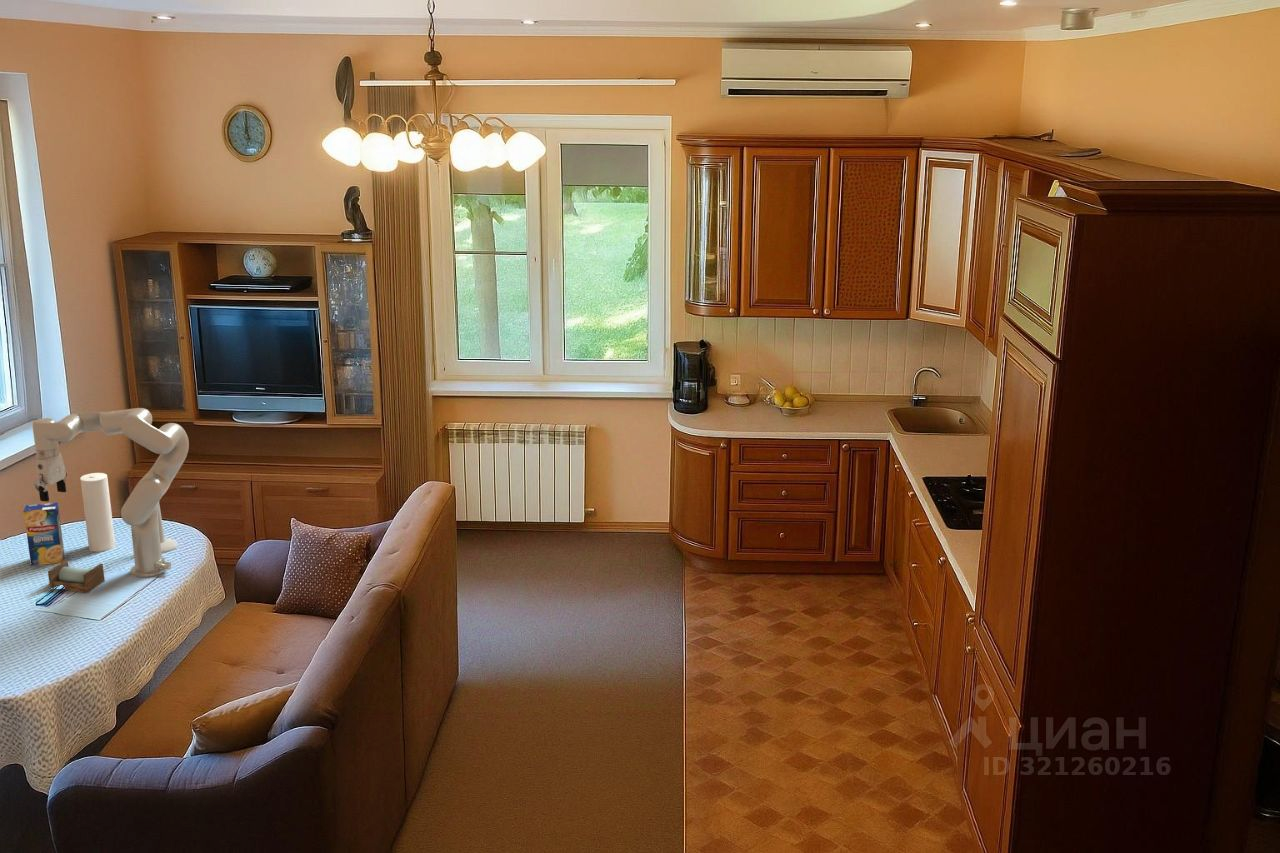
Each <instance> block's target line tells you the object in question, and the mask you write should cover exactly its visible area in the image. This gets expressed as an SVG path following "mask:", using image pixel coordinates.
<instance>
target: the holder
mask: <svg viewBox="0 0 1280 853" xmlns="http://www.w3.org/2000/svg"><path fill="white" fill-rule="evenodd" d="M63 567H70V566H69V560H67V559H64V560H63V562H60V563H57V565H55V566H54V567H52V568H51V569H49V570H47V576H48V583H49V589H50V590H52V589H51V588H54V587H56V586H59V585H63V586H65V589H66V590H65V591H67V592H68V591H69V592H77V593H86V594H87V592H88V593H90V592H91V591H92V590H95V587H96V588H97V587H98V585H99V586H100V585H102V584H103V583H104V582H105V581H106V579H105V572H104V564H103V563H99V564H97V565H96V566H94V567H92V568H90V569H91V570H90V571H88V572H87V573H85V574H84V575H83V577H84V584H79V583H69V582H61V581H60V579H59V572H60V570H61V569H62V568H63Z"/></svg>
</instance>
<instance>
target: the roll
mask: <svg viewBox="0 0 1280 853" xmlns="http://www.w3.org/2000/svg"><path fill="white" fill-rule="evenodd" d="M91 569H92V568H85V567H84V568H83V567H76V566H75V567H73V566H72V567H71V566H69V567H63V568H62V569H61V570H60V572H59V579H60V581H61V582H69V583H79V584H84V577H83V575H84V574H85V573H87V572H88V571H90V570H91Z"/></svg>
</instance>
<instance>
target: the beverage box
mask: <svg viewBox="0 0 1280 853" xmlns="http://www.w3.org/2000/svg"><path fill="white" fill-rule="evenodd" d="M23 517H24V522H25V523H24V525H25V531H26V532H25V533H26V539H27V545H28V553H29V558H30V559H29V560H30V566H39V565H49V564H60V563H61V562H63V561H64V560H65V554H66V553H65V547H64V539H63V533H62V523H61V518H60V509H59V502H57V501H56V502H49V503H35V504H34V503H33V504H26V505H25V507H24V509H23Z"/></svg>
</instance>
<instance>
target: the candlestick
mask: <svg viewBox="0 0 1280 853" xmlns="http://www.w3.org/2000/svg"><path fill="white" fill-rule="evenodd" d="M162 519H163V518H162V512H161V506H160V501H159V502H158V523H159V535H160V544H161V554H164V553H169V552H171V551H174V550H176V549H177V548H178V547H179V543H178V541H177V540H175V539H172V538H166V537H165V532H164V525H163V520H162ZM177 546H178V547H177ZM168 551H169V552H168Z"/></svg>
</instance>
